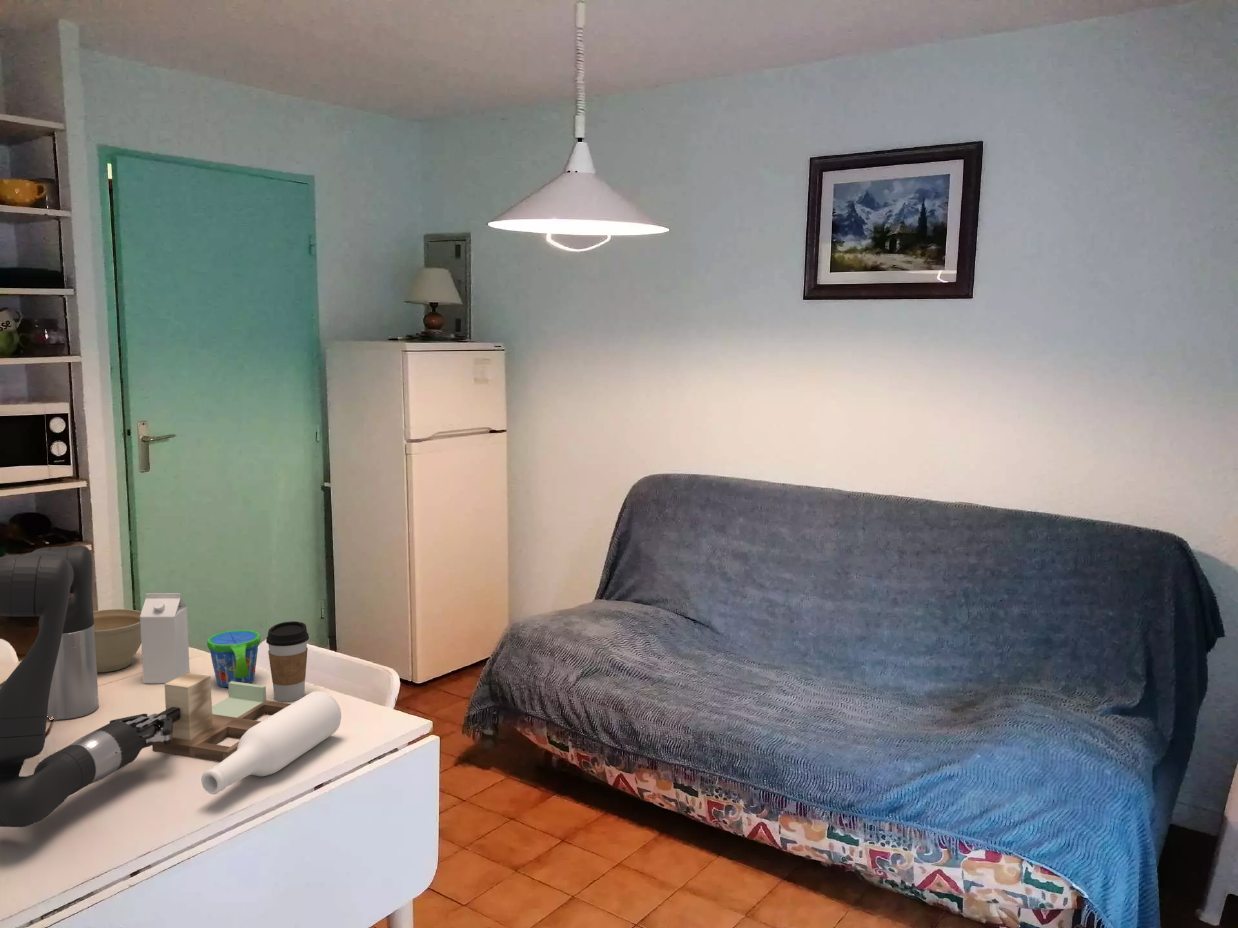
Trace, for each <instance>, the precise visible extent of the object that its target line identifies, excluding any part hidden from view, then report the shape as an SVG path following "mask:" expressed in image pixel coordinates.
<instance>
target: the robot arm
mask: <svg viewBox="0 0 1238 928" xmlns="http://www.w3.org/2000/svg"><path fill="white" fill-rule="evenodd" d="M70 594H73V597H72V598H71V599H70ZM93 611H94V604H93V558H92V554H91V551H90V549H89V547H87V546H86V545H69V546H68V545H66V546H52V547H41V548H38V549H35V550H33V551H32V552H29V553H26V554H24V555H4V556H0V617H39V621H38V626H39V627H38V628H39V631H38V634H37V636H36V637H35V640H34V642H33V644H32V646H31V647H30V648H29V650H28V652H27V653H26V654H25V656H24V657H23V659H22V660H21V661H20V663H19V664H18V665H17V666H16V667H15V668H14V669H13V671H12V672H11V674H10V675H9V676H8V678H7V679H6V680H5V681H4V683H3V684H2V686H1V687H0V828H26V827H29V826H32V825H34V824H37V823H38V822H41V821H42V820H44V819H46V818H47V817H49V816H50V815H51V814H52V813H53V812H54V811H55V810H56V809H57V808H58V807H60V806H61V805H62V804H63V803H64V802H65V800H67V799H68V797H70V796H71V795H73V794H75V793H77V792H79V791H80V790H82V789H84V788H85V787H88V786H90V785H92V784H93V783H96V782H99V781H101V780H103V779H105V778H107V777H109V776H110V775H112V774H113V773H115V772H117V771H119V770H120V769H122V768H125V766H127V765H129V764H131V763H132V762H134V761H135V760H136V759H137V758H138V755H139V754H140V752H141V751H142V749H146V748H148V747H151V746H152V745H153V744H154V742H157V741H161V742H164V745H168V744H171V743H172V735H173V723H174V722H176V721H178V720H179V719H180V708H176V707H171V708H169V709H167V710H166V709H165V710H164V711H161V712H159V713H153V714H150V715H149V714H148V713H140V714H136V715H135V714H134V715H131V716H126V717H122V718H121V717H120V718H115V719H111V720H109V723H107V724H105V725H103V726H101V727H99V728H97V729H96V730H93V731H91V732H89V733H88V734H84V735H83V736H81V737H79V738H78V739H77V740H74V742H72V743H70V744H69V745H67V746H65V747H64V748H61V749H60V750H57V751H56V752H53V753H51V754H50V755H48V756H46V757H45V758H43V759H42V760H41V761H39V762H38V764H37V765H36V767H35V768H34V770H33V774H30V775H25V776H24V775H23V776H20V773H21V770H22V768H23V766H24V763H25V761H26V760H28V759H31V758H34V757H37V756H38V755H40V754H41V753H42V752H43V750H44V747H45V741H46V731H47V721H48V718H50V719H51V717H52V716H53V718H54V720H53V721H57V720H70V719H77V718H79V717H80V718H81V717H84V716H88V715H89V714H92V713H93V712H94V713H95V711H97V710H98V709H99V707H100V703H99V702H100V701H99V696H100V695H99V688H98V687H99V686H98V685H99V684H98V673H97V666H96V648H95V631H94V616H93ZM47 716H48V718H47Z"/></svg>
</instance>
